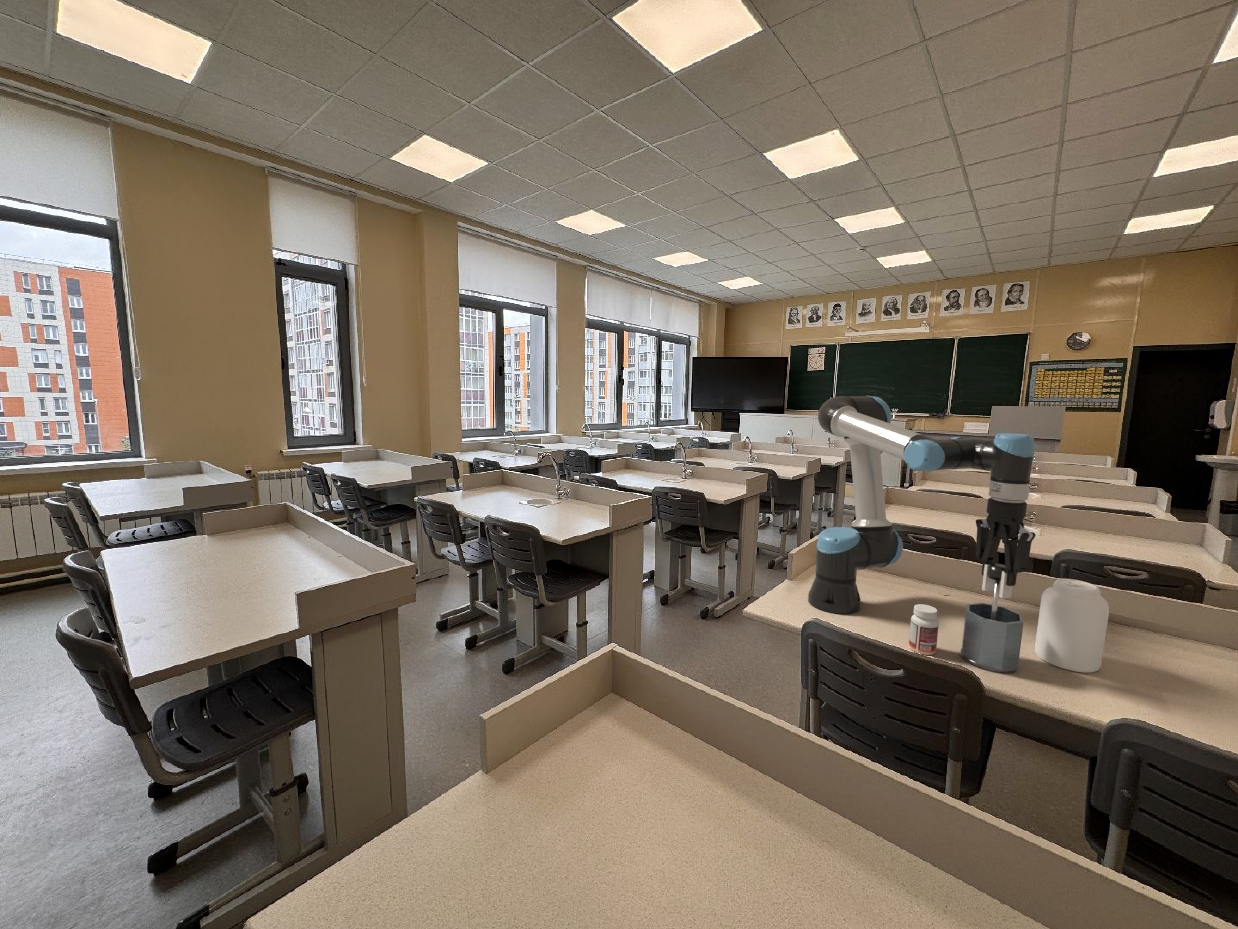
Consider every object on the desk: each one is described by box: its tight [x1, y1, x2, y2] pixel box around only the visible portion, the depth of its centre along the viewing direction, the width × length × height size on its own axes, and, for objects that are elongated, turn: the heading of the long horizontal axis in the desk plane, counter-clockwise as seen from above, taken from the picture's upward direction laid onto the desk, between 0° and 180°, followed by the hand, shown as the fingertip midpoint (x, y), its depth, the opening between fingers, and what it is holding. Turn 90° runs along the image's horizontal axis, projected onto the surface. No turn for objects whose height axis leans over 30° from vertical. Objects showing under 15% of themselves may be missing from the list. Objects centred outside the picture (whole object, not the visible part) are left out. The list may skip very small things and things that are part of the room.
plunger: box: [988, 562, 1006, 621], centre depth 127 cm, size 8×8×23 cm
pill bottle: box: [908, 603, 939, 656], centre depth 134 cm, size 6×6×11 cm
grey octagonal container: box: [960, 602, 1025, 674], centre depth 129 cm, size 12×14×12 cm
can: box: [1034, 578, 1110, 673], centre depth 128 cm, size 12×12×20 cm
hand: (996, 593), depth 127 cm, fingers closed on plunger, 4 cm apart
